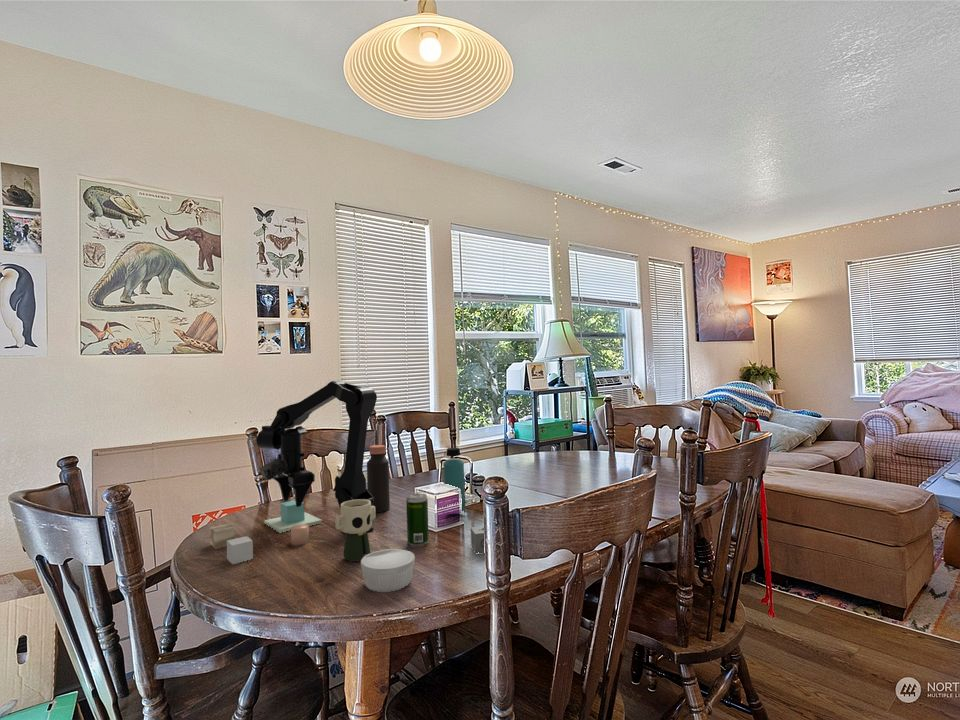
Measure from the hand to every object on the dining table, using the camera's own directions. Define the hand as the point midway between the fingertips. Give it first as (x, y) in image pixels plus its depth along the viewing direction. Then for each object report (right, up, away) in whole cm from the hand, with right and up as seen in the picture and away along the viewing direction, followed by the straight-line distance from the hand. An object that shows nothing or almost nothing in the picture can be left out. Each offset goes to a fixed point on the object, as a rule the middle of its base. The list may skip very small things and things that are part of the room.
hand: (292, 503), depth 147 cm
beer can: (+39, -5, -19) cm, 44 cm away
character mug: (+26, -5, -28) cm, 39 cm away
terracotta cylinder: (+8, -6, -16) cm, 19 cm away
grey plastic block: (-2, -6, -27) cm, 28 cm away
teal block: (0, -5, 0) cm, 5 cm away
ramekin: (+36, -5, -42) cm, 55 cm away
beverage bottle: (+47, -5, +5) cm, 48 cm away
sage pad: (0, -6, 0) cm, 6 cm away
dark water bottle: (+23, -6, +12) cm, 27 cm away
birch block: (-12, -6, -16) cm, 21 cm away
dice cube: (+56, -5, -25) cm, 61 cm away
